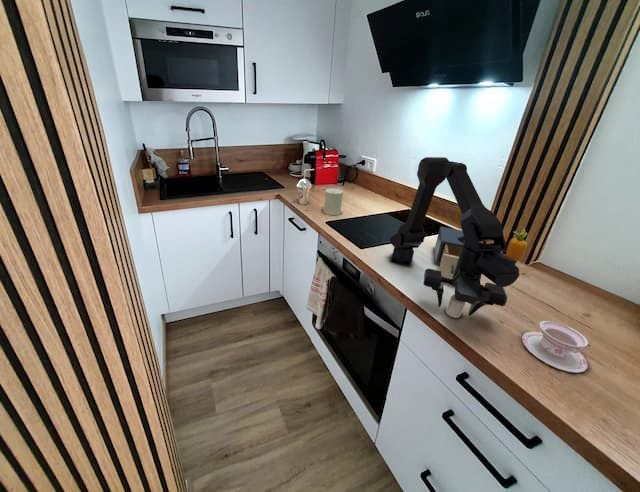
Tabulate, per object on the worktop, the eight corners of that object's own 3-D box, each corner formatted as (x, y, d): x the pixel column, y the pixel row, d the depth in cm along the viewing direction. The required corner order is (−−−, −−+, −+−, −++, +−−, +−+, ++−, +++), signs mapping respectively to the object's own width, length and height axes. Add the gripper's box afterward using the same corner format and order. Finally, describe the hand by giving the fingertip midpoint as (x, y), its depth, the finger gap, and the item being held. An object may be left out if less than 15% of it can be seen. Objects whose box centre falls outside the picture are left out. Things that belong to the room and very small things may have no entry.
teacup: (523, 356, 67) (533, 337, 65) (519, 326, 77) (527, 308, 74) (593, 383, 61) (607, 363, 59) (579, 347, 71) (591, 328, 68)
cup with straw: (302, 199, 167) (304, 165, 159) (314, 203, 162) (317, 168, 153) (292, 202, 162) (294, 167, 154) (304, 206, 156) (307, 170, 148)
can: (321, 213, 147) (323, 191, 142) (324, 207, 155) (326, 186, 151) (339, 216, 145) (342, 193, 140) (341, 210, 153) (344, 188, 148)
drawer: (479, 291, 89) (487, 270, 85) (437, 281, 93) (444, 260, 90) (472, 266, 102) (479, 246, 99) (437, 258, 107) (442, 239, 104)
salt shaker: (446, 315, 80) (451, 299, 78) (445, 307, 83) (450, 292, 81) (460, 319, 78) (466, 303, 76) (459, 311, 81) (465, 296, 79)
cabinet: (475, 273, 100) (484, 249, 96) (434, 264, 105) (441, 240, 101) (470, 255, 111) (478, 233, 107) (434, 248, 116) (440, 226, 112)
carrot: (510, 271, 101) (525, 234, 95) (496, 264, 106) (511, 228, 100) (520, 270, 103) (536, 232, 97) (506, 262, 107) (521, 226, 101)
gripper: (430, 268, 71) (416, 317, 77) (522, 291, 64) (499, 342, 70) (430, 249, 80) (418, 294, 86) (511, 267, 73) (491, 314, 79)
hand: (453, 310), depth 80 cm, fingers open, 7 cm apart
